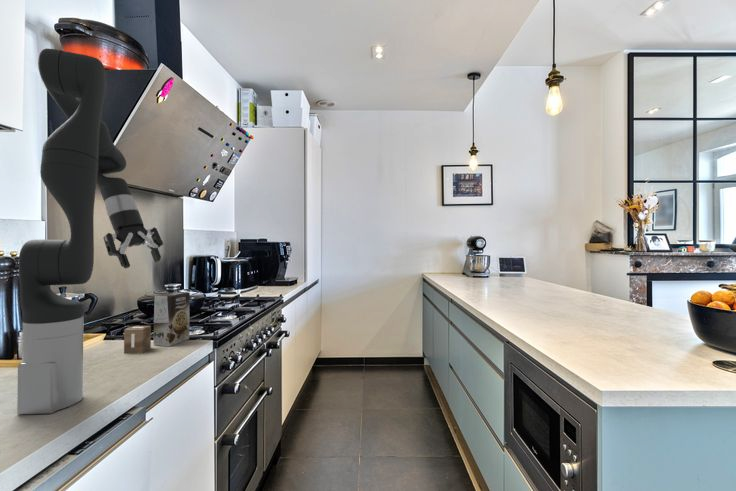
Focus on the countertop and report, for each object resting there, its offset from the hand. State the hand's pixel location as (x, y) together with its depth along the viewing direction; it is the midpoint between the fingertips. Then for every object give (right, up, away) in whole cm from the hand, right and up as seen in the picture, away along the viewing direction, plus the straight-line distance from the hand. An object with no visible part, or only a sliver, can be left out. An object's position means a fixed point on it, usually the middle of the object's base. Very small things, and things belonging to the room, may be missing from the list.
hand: (143, 264), depth 103 cm
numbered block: (-4, -27, +4) cm, 27 cm away
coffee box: (+1, -27, +13) cm, 30 cm away
